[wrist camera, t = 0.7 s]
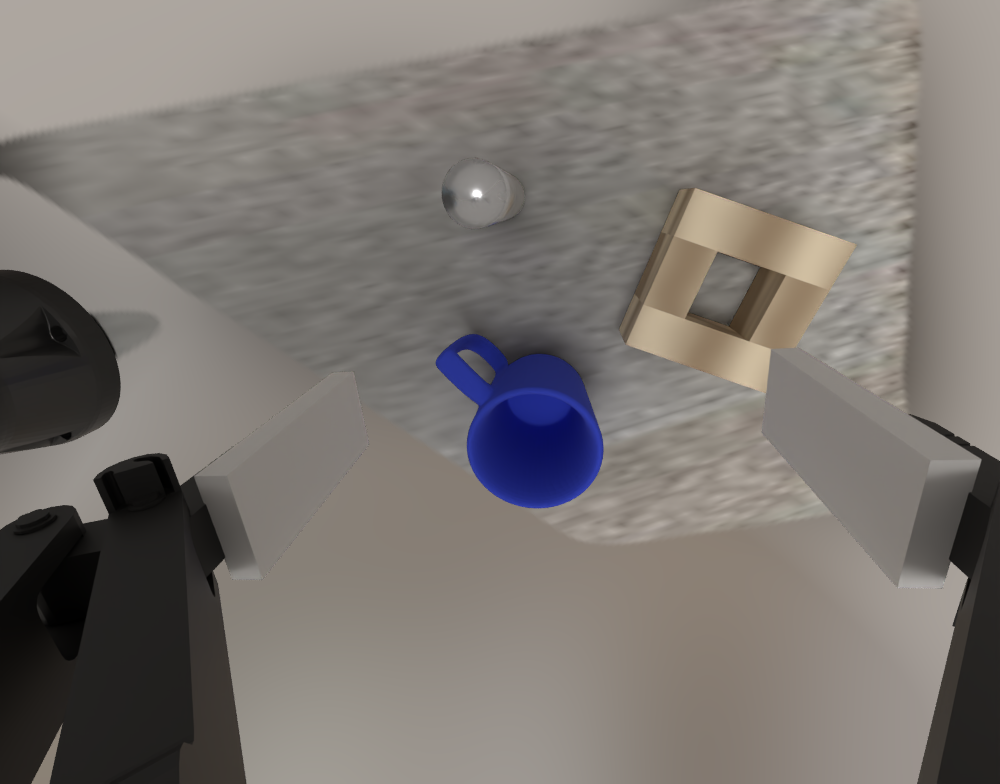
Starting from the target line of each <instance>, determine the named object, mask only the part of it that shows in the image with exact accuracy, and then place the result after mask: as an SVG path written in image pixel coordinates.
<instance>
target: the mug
mask: <svg viewBox="0 0 1000 784" xmlns="http://www.w3.org/2000/svg"><path fill="white" fill-rule="evenodd" d="M466 349H468V350H472V351H474V352H476V353H477V354H479V355H480V356H481V357H482V358H484V359H485V360H486V361H487V362H488V363H489V364H490V365H491V367H492V368H493V369H494V370H495V373H496V375H495V378H494V380H493V381H492V383H491V385H490V384H488V383H487V382H486V381H484V380H483V379H482V378H481V377H480V376H479V375H478V374H477V373H476V372H475V371H474V370H473V369H472V368H471V367H470V366H469V365H468V364H467V363H466V362H465V361H464V360H463V359H462V358H461V357H460V356H459V355H458V354H457V353H458V352H460V351H462V350H466ZM436 366H437V368H438V369H439V370H440V371H441V372H442V373H443V374H444V375H445V376H446V377H447V378H448V379H449V380H450V381H451V382H452V383H453V384H454V385H455V386H456V387H457V388H458V389H459V390H460V391H462V392H463V393H464V394H465V395H466V396H467V397H469V398H470V399H471V400H473V401H474V402H475V403H477V404H478V406H479V408H478V411H477V413H476V415H475V417H474V419H473V421H472V423H471V426H470V429H469V432H468V438H467V453H468V458H469V462H470V465H471V467H472V469H473V471H474V473H475V475H476V477H477V478H478V479H479V481H480V482H481V483H482V484H483V485H484V487H486V488H487V489H488V490H489V491H490V492H491V493H493V494H494V495H495V496H497V497H499V498H500V499H502V500H504V501H506V502H508V503H511V504H514V505H518V506H522V507H527V508H548V507H554V506H558V505H561V504H564V503H566V502H568V501H571V500H572V499H574V498H576V497H577V496H579V495H580V494H581V493H583V492H584V491H585V490H586V489H587V488H588V487H589V486H590V485H591V483H592V482H593V481H594V479H595V477H596V476H597V474H598V472H599V470H600V467H601V463H602V459H603V439H602V435H601V431H600V429H599V426H598V423H597V420H596V417H595V415H594V412H593V409H592V406H591V403H590V401H589V398H588V395H587V392H586V389H585V386H584V384H583V382H582V380H581V378H580V376H579V374H578V373H577V372H576V370H575V369H574V368H573V367H572V366H571V365H569V364H568V363H567V362H565V361H564V360H562V359H560V358H558V357H555V356H552V355H547V354H532V355H528V356H525V357H522V358H520V359H518V360H516V361H515V362H513V363H511V364H509V365H508V361H507V359H506V358H505V356H504V355H503V354H502V353H501V351H500V350H499V349H498V348H497V347H496V346H495V345H494V344H493V343H491V342H490V341H489V340H487V339H486V338H484V337H483V336H480V335H477V334H469V335H466V336H464V337H461V338H460V339H458V340H456V341H455V342H454V343H452V344H451V345H450V346H449V347H447V348H446V349H445V350H444V351H443V352H442V353H441V354H440V355H439V357H438V358H437V360H436Z"/></svg>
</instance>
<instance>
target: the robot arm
mask: <svg viewBox="0 0 1000 784" xmlns="http://www.w3.org/2000/svg"><path fill="white" fill-rule="evenodd" d="M119 397H120V374H119V369H118V365H117V361H116V358H115V355H114V353H113V350H112V348H111V346H110V344H109V342H108V340H107V338H106V337H105V335H104V333H103V332H102V330H101V329H100V327H99V326H98V324H97V323H96V322H95V320H94V319H93V318H92V317H91V316H90V314H89V313H88V312H87V311H86V310H85V309H84V308H83V307H82V306H81V305H80V304H79V303H78V302H77V301H75V300H74V299H73V298H72V297H71V296H69V295H68V294H67V293H66V292H64V291H63V290H61V289H60V288H58V287H57V286H55V285H53V284H52V283H50V282H47V281H46V280H43V279H41V278H39V277H37V276H34V275H31V274H28V273H24V272H20V271H14V270H0V454H6V453H11V452H17V451H23V450H29V449H35V448H41V447H47V446H53V445H59V444H63V443H67V442H70V441H73V440H76V439H78V438H80V437H82V436H84V435H86V434H88V433H90V432H92V431H94V430H96V429H98V428H100V427H101V426H103V425H104V424H105V423H106V422H107V421H108V420H109V419H110V418H111V417H112V415H113V413H114V412H115V410H116V407H117V405H118V401H119ZM762 433H763V435H764V436H765V437H766V438H767V439H768V440H769V441H770V443H771V444H772V445H773V446H774V447H775V448H776V449H777V451H778V452H779V453H780V454H781V455H782V456H783V457H784V459H785V460H786V461H787V462H788V463H789V464H790V466H791V467H792V468H793V469H794V470H795V471H796V472H797V474H798V475H799V476H800V477H801V478H802V479H803V480H804V482H805V483H806V484H807V485H808V486H809V487H810V488H811V490H812V491H813V492H814V493H815V494H816V495H817V496H818V498H819V499H820V500H821V501H822V502H823V503H824V505H825V506H826V507H827V508H828V509H829V510H830V511H831V513H832V514H833V515H834V516H835V517H836V518H837V519H838V521H840V523H841V524H842V525H843V526H844V527H845V528H846V530H847V531H848V532H849V533H850V534H851V535H852V537H853V538H854V539H855V540H856V541H857V542H858V543H859V545H860V546H861V547H862V548H863V549H864V550H865V552H866V553H867V554H868V555H869V556H870V557H871V558H872V560H873V561H874V562H875V563H876V564H877V565H878V566H879V567H880V569H881V570H882V571H883V572H884V573H885V574H886V576H887V577H888V578H889V579H890V580H891V581H892V582H893V584H894V585H895V586H896V587H897V588H943V585H944V582H945V578H946V575H947V572H948V568H949V565H950V562H952V563H953V564H954V565H956V566H957V567H958V568H959V569H960V570H961V571H962V572H963V573H964V574H965V575H967V576H968V579H967V582H966V585H965V589H964V592H963V595H962V598H961V601H960V604H959V607H958V610H957V613H956V616H955V619H954V622H953V626H954V627H955V628H954V632H953V637H952V641H951V645H950V649H949V653H948V657H947V661H946V666H945V670H944V674H943V678H942V682H941V687H940V691H939V695H938V699H937V703H936V707H935V711H934V716H933V720H932V724H931V728H930V732H929V737H928V741H927V745H926V749H925V753H924V757H923V762H922V766H921V770H920V774H919V778H918V782H917V784H1000V461H999V460H997V459H995V458H994V457H992V456H990V455H989V454H987V453H985V452H984V451H982V450H980V449H979V448H977V447H975V446H970V443H968V442H967V441H965V440H963V439H962V438H960V437H958V436H957V437H955V436H954V434H953V433H951V432H950V431H948V430H946V429H945V428H943V427H941V426H940V425H938V424H936V423H934V422H931V421H928V420H925V419H922V418H920V417H917V416H914V415H911V414H907V413H905V412H903V411H902V410H900V409H899V408H897V407H895V406H894V405H892V404H890V403H889V402H887V401H885V400H884V399H882V398H881V397H879V396H877V395H876V394H874V393H872V392H871V391H869V390H867V389H866V388H864V387H863V386H861V385H859V384H858V383H856V382H854V381H853V380H851V379H849V378H848V377H846V376H845V375H843V374H841V373H840V372H838V371H836V370H835V369H833V368H832V367H830V366H828V365H827V364H825V363H823V362H822V361H820V360H818V359H817V358H815V357H814V356H812V355H810V354H809V353H807V352H805V351H804V350H802V349H800V348H781V349H771V354H770V363H769V372H768V381H767V390H766V398H765V407H764V416H763V425H762ZM368 445H369V440H368V436H367V431H366V426H365V422H364V417H363V413H362V408H361V403H360V398H359V394H358V389H357V384H356V380H355V375H354V371H351V372H332V373H331V374H330V375H328V376H327V377H326V378H324V379H323V380H322V381H320V382H319V383H318V384H316V385H315V386H314V387H312V388H311V389H310V390H308V391H307V392H306V393H304V394H303V395H302V396H300V397H299V398H298V399H296V400H295V401H294V402H292V403H291V404H290V405H288V406H287V407H286V408H284V409H283V410H282V411H280V412H279V413H278V414H277V415H275V416H274V417H272V418H271V419H270V420H268V421H267V422H266V423H264V424H263V425H262V426H261V427H259V428H258V429H256V430H255V431H254V432H252V433H251V434H250V435H248V436H247V437H246V438H245V439H243V440H242V441H240V442H239V443H238V444H236V445H235V446H233V447H232V448H231V449H229V450H228V451H226V452H225V453H224V454H222V455H221V456H220V457H219V458H217V459H215V460H214V461H213V462H211V463H210V464H209V465H208V466H207V467H205V468H204V469H202V470H201V471H199V472H198V473H197V474H195V475H194V476H193V477H191V478H190V479H189V480H188V481H186V482H185V483H183V484H182V485H181V486H180V485H179V482H178V479H177V477H176V474H175V472H174V469H173V467H172V464H171V461H170V459H169V457H168V456H167V455H166V454H160V453H157V454H147V455H142V456H138V457H134V458H131V459H128V460H125V461H122V462H119V463H117V464H115V465H113V466H110V467H108V468H106V469H105V470H103V471H102V472H100V473H99V474H98V475H97V476H96V477H95V478H94V483H95V485H96V487H97V489H98V491H99V494H100V496H101V498H102V500H103V502H104V504H105V506H106V509H107V511H108V513H109V516H108V519H104V520H100V521H94V522H89V523H84V524H83V523H82V521H81V519H80V517H79V515H78V513H77V511H76V509H75V508H74V507H73V506H68V505H62V506H55V507H50V508H47V509H43V510H42V509H38V510H35V511H32V512H30V513H28V514H25V515H22V516H20V517H19V518H18V519H17V520H16V521H14V522H12V523H10V524H8V525H6V526H5V527H3V528H2V529H1V530H0V784H31V783H32V781H33V779H34V777H35V775H36V773H37V771H38V769H39V767H40V765H41V764H42V762H43V760H44V758H45V755H46V754H47V752H48V750H49V748H50V746H51V744H52V742H53V740H54V738H55V736H56V734H57V732H58V731H59V728H60V727H61V725H62V723H63V725H62V729H61V734H60V738H59V743H58V747H57V752H56V757H55V761H54V766H53V770H52V775H51V780H50V784H246V778H245V771H244V764H243V756H242V750H241V743H240V735H239V728H238V721H237V714H236V707H235V701H234V694H233V686H232V679H231V673H230V665H229V658H228V651H227V644H226V637H225V630H224V623H223V616H222V609H221V602H220V595H219V588H218V583H217V580H216V578H215V575H214V572H213V570H214V569H215V568H216V567H217V566H218V565H219V564H220V563H221V562H222V561H223V559H225V562H226V564H227V567H228V570H229V572H230V575H231V578H232V580H263V579H264V578H265V576H266V575H267V574H268V573H269V571H270V570H271V569H272V567H273V566H274V565H275V564H276V562H277V561H278V560H279V559H280V557H281V556H282V555H283V553H284V552H285V551H286V550H287V548H288V547H289V546H290V545H291V543H292V542H293V541H294V539H295V538H296V537H297V536H298V534H299V533H300V532H301V531H302V529H303V528H304V527H305V525H306V524H307V523H308V522H309V520H310V519H311V518H312V516H313V515H314V514H315V513H316V511H317V510H318V509H319V508H320V506H321V505H322V504H323V503H324V501H325V500H326V499H327V497H328V496H329V495H330V494H331V492H332V491H333V490H334V489H335V487H336V486H337V485H338V484H339V482H340V481H341V480H342V478H343V477H344V476H345V475H346V473H347V472H348V471H349V470H350V468H351V467H352V466H353V464H354V463H355V462H356V461H357V459H358V458H359V457H360V455H361V454H362V453H363V452H364V450H365V449H366V448H367V447H368Z"/></svg>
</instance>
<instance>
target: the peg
mask: <svg viewBox="0 0 1000 784" xmlns="http://www.w3.org/2000/svg"><path fill="white" fill-rule="evenodd" d="M442 200H443V204H444V207H445V209H446V211H447V213H448V215H449V216H450V217H451V218H452V219H453V220H454V221H455V222H456V223H457V224H459V225H461V226H463V227H466V228H469V229H480V228H484V227H487V226H490V225H493V224H496V223H499V222H502V221H505V220H508V219H511V218H513V217H514V216H516V215H517V214H518V213H519V212H520V210H521V209H522V207H523V204H524V200H525V193H524V188H523V186H522V184H521V182H520V181H519V180H518V179H517V178H516V177H515V176H513V175H511V174H509V173H508V172H506V171H504V170H502V169H500V168H499V167H497V166H495V165H493V164H491V163H490V162H488V161H486V160H483V159H479V158H468V159H464V160H462V161H460V162H458V163H456V164H455V165H454V166H453V167H452V168H451V169H450V170H449V171H448V173H447V174H446V176H445V179H444V182H443V186H442Z"/></svg>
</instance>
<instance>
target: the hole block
mask: <svg viewBox="0 0 1000 784" xmlns="http://www.w3.org/2000/svg"><path fill="white" fill-rule="evenodd" d="M855 247H856V244H854V243H851V242H848V241H845V240H842V239H839V238H836V237H834V236H831V235H828V234H825V233H822V232H819V231H817V230H814V229H811V228H808V227H805V226H802V225H799V224H797V223H794V222H791V221H788V220H785V219H782V218H780V217H777V216H774V215H771V214H768V213H765V212H762V211H760V210H757V209H754V208H751V207H748V206H745V205H743V204H740V203H737V202H734V201H731V200H728V199H725V198H723V197H720V196H717V195H714V194H711V193H708V192H706V191H703V190H700V189H697V188H690V189H681V190H679V192H678V195H677V197H676V199H675V202H674V204H673V206H672V208H671V211H670V213H669V215H668V218H667V220H666V222H665V225H664V227H663V229H662V231H661V234H660V236H659V238H658V241H657V243H656V245H655V248H654V250H653V252H652V254H651V257H650V259H649V261H648V264H647V266H646V268H645V271H644V273H643V275H642V277H641V280H640V282H639V284H638V287H637V289H636V291H635V294H634V296H633V298H632V300H631V303H630V305H629V307H628V310H627V312H626V314H625V317H624V319H623V321H622V323H621V326H620V328H619V331H620V333H621V335H622V338H623V340H624V342H625V344H626V345H628V346H631V347H634V348H637V349H640V350H643V351H646V352H649V353H652V354H654V355H657V356H660V357H663V358H666V359H669V360H672V361H675V362H677V363H680V364H683V365H686V366H689V367H692V368H695V369H698V370H700V371H703V372H706V373H709V374H712V375H715V376H718V377H721V378H723V379H726V380H729V381H732V382H735V383H738V384H741V385H744V386H747V387H749V388H752V389H755V390H758V391H761V392H764V393H766V390H767V381H768V372H769V363H770V354H771V349H781V348H795V347H796V346H797V344H798V342H799V341H800V339H801V337H802V336H803V334H804V332H805V331H806V329H807V327H808V326H809V324H810V322H811V321H812V319H813V317H814V316H815V314H816V312H817V311H818V309H819V307H820V306H821V304H822V302H823V301H824V299H825V297H826V296H827V294H828V292H829V291H830V289H831V287H832V286H833V284H834V282H835V281H836V279H837V277H838V275H839V274H840V272H841V270H842V269H843V267H844V265H845V264H846V262H847V260H848V259H849V257H850V255H851V254H852V252H853V250H854V249H855ZM717 252H719V253H722V254H725V255H728V256H731V257H734V258H737V259H739V260H742V261H745V262H748V263H751V264H754V265H757V266H759V267H760V269H759V271H758V273H757V275H756V277H755V279H754V280H753V282H752V284H751V286H750V288H749V290H748V292H747V294H746V296H745V297H744V299H743V301H742V303H741V305H740V307H739V309H738V311H737V313H736V314H735V316H734V318H733V320H732V322H731V324H730V326H726V325H723V324H720V323H718V322H715V321H712V320H709V319H706V318H703V317H700V316H697V315H695V314H692V313H689V312H688V311H689V309H690V307H691V305H692V303H693V301H694V299H695V297H696V295H697V293H698V291H699V289H700V287H701V285H702V282H703V280H704V278H705V276H706V274H707V272H708V270H709V268H710V266H711V264H712V262H713V260H714V258H715V256H716V254H717Z"/></svg>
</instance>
